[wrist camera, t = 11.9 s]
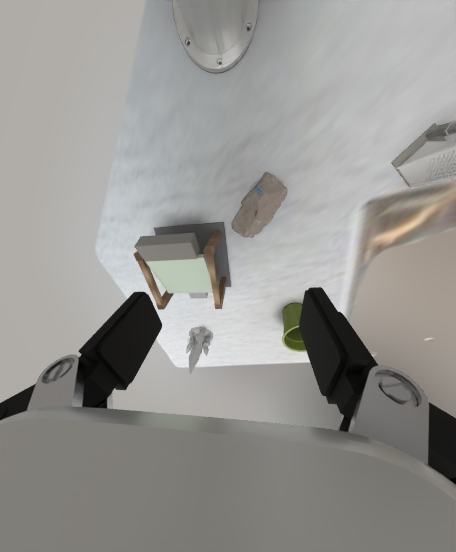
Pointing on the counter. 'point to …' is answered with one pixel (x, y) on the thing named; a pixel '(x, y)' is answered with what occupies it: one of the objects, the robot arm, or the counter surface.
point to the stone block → (198, 295)
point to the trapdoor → (176, 262)
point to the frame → (209, 254)
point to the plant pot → (292, 328)
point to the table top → (203, 236)
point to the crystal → (198, 344)
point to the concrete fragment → (259, 206)
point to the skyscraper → (429, 157)
